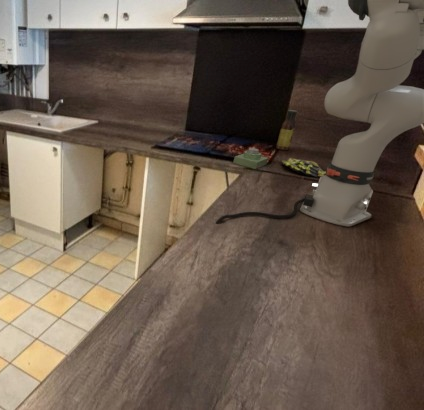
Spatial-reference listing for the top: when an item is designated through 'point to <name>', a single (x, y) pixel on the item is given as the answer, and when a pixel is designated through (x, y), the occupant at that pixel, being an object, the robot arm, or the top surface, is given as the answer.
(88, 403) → the top surface
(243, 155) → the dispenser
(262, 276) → the top surface
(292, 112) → the sauce bottle
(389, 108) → the robot arm
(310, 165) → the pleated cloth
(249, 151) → the pump
